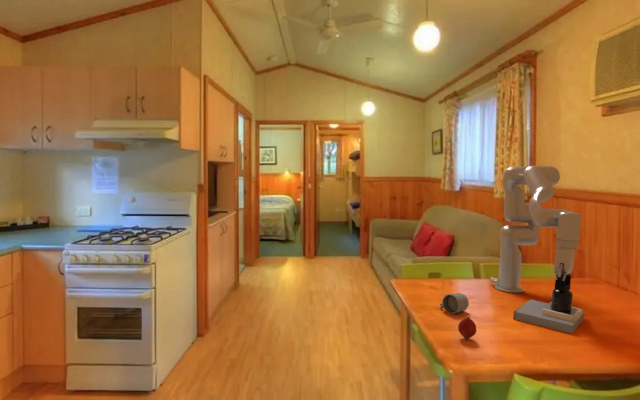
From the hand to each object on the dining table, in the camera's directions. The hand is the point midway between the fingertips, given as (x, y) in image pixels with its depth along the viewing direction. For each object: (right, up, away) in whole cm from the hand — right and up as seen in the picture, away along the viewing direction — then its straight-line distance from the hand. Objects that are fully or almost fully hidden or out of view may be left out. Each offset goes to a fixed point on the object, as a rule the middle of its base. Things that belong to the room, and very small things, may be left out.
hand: (562, 287), depth 160 cm
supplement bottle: (0, -10, +1) cm, 10 cm away
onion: (-44, -13, -20) cm, 50 cm away
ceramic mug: (-40, -11, +8) cm, 42 cm away
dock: (-3, -13, +3) cm, 14 cm away
